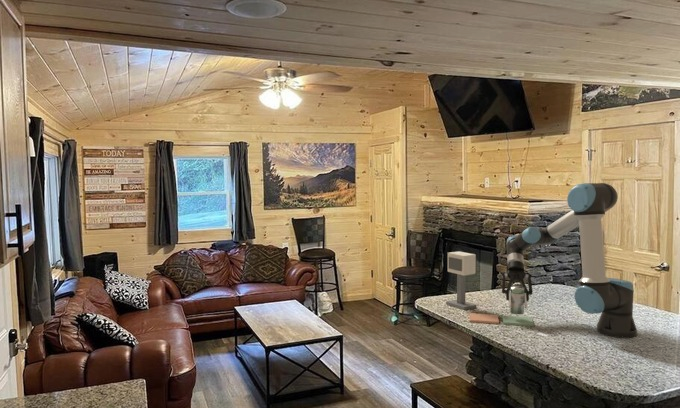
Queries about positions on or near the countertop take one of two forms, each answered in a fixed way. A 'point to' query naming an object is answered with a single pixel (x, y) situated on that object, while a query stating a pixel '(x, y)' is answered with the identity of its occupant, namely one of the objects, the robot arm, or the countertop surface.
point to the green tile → (517, 320)
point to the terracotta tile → (484, 318)
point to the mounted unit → (461, 276)
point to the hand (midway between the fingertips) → (517, 306)
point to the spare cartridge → (517, 299)
